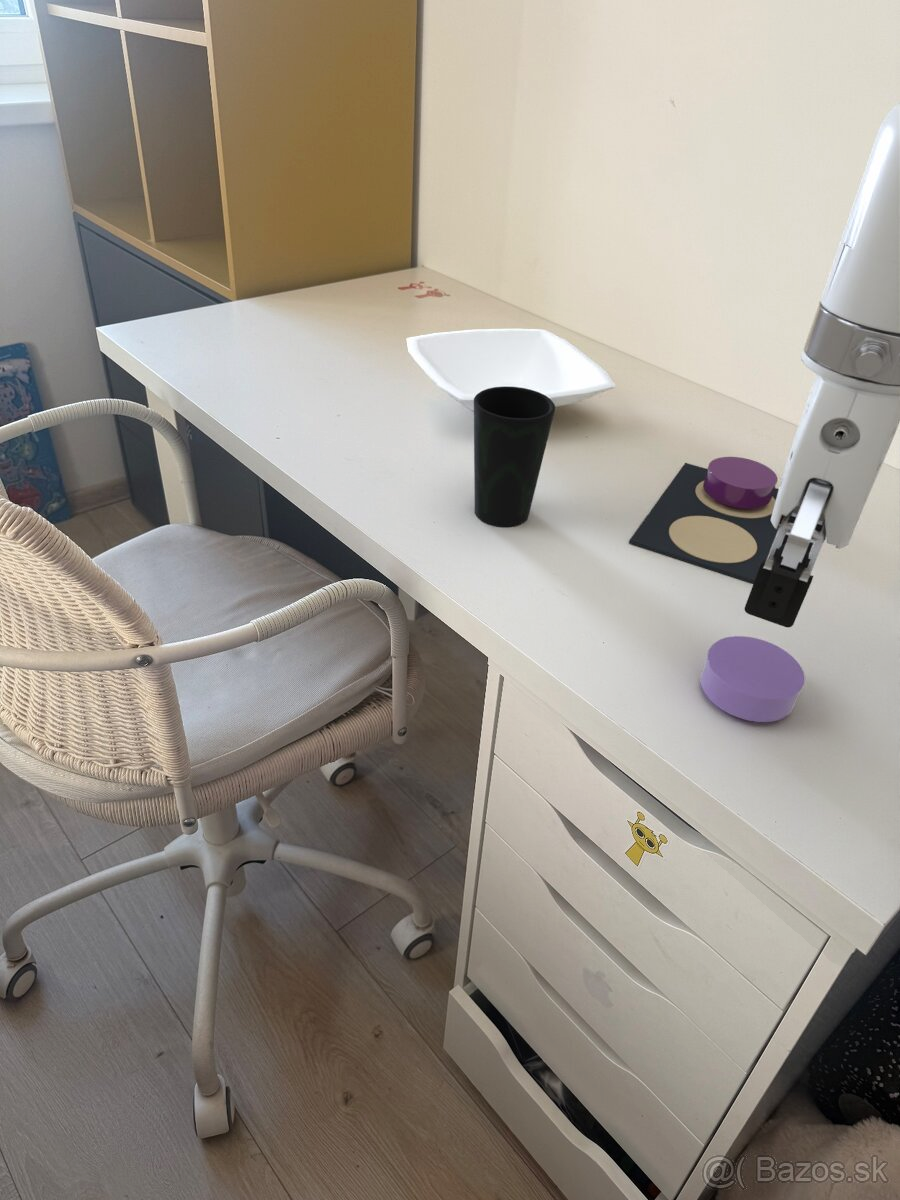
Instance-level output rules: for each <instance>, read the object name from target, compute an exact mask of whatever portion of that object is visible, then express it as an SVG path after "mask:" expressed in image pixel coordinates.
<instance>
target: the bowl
mask: <svg viewBox="0 0 900 1200" xmlns="http://www.w3.org/2000/svg"><path fill="white" fill-rule="evenodd" d="M406 343H407V351H408V353H409V355H411V357H412V358H413V359H414V361H415V362H416V364H418V365H419V367H420V368H421V369H422V371H423V372H424V373H425V374H426V375H427V376H428V377H429V378H430V380H431V381H432V382H433V383H434V384H435V385H436V386H437V387H438V388H439V389H440V390H442V391H443V392H444V393H445V394H447V395H448V396H450V397H451V398H452V399H454V401H456V402H458V403H459V404H461V405H462V406H464V407H466V408H467V409H468V410H470V411H473V412H474V398H475V396H476V395H477V394H478V393H480V392H481V391H483V390H486V389H489V388H494V387H503V386H505V387H520V388H526V389H530V390H534V391H537V392H539V393H541V394H543V395H546V396H547V397H548V398H550V399H551V400H552V402H553V403H554V404H555V408H556V407H562V406H567V405H570V404H575V403H579V402H582V401H585V400H587V399H590V398H593V397H596V396H598V395H600V394H603V393H605V392H608V391H611V390H613V389H615V388H616V384H615V382H614V380H613V379H612V378H611V376H610V375H609V373H608V371H607V370H605V369H604V368H603V367H601V366H600V365H599V364H598V363H597V362H596V361H594V360H593V359H591V358H590V357H589V356H588V355H586V354H585V353H584V352H582V351H581V350H580V349H579V348H577V347H576V346H575V345H574V344H572V343H570V342H569V341H568V340H567V339H565V338H563V337H560V336H558V335H557V334H555V333H553V332H550V331H549V330H546V329H538V328H484V329H483V328H482V329H481V328H480V329H475V328H474V329H464V330H454V331H444V332H434V333H428V334H423V335H416V336H409V337H407V338H406Z"/></svg>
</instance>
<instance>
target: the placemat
mask: <svg viewBox="0 0 900 1200" xmlns="http://www.w3.org/2000/svg"><path fill="white" fill-rule="evenodd" d="M707 469H708V468H707V467H702V466H699V465H695V464H691V463H688V462H685V463H684V464H683V465H682V467H681V468H680V469H679V471H678V472H677V473H676V475H675V477H674V478H673V479H672V480H671V481H670V483H669V484H668V486H667V487H666V489H665V490H664V492H662V494H661V496H659V498H658V500H657V501H656V503H655V504H654V505H653V506H652V508H651V510H650V511H649V512H648V513H647V515H646V517H644V519H643V520H642V522H641V523H640V525H639V526H638V528H637V529H636V530H635V532H634V533H633V534H632V536H631V537H630V539H629V540H628V544H629V545H633V546H635V547H639V548H643V549H645V550H648V551H651V552H654V553H658V554H660V555H664V556H667V557H670V558H673V559H676V560H679V561H683V562H685V563H689V564H692V565H694V566H698V567H700V568H703V569H707V570H710V571H713V572H716V573H719V574H722V575H725V576H729V577H732V578H734V579H738V580H741V581H744V582H747V583H750V584H752V585H753V584H754V581H755V578H756V575H757V573H758V570H759V567H760V565H761V562H762V560H766V559H767V557H768V554H769V552H770V549H771V547H772V544H773V542H774V539H775V536H776V534H777V531H778V528H777V529H776V528H775V527H774V526H773V524H772V522H771V517H772V513H773V509H774V505H775V501H776V498H777V494H778V491H779V488H777V487H775V490H774V493H773V496H772V499H771V501H770V503H769V504H768V505H766V506H764V507H761V508H755V509H750V510H740V509H734V508H730V507H727V506H724V505H722V504H720V503H718V502H716V501H715V500H714V499H713V498H712V497H710V496H709V495H708V494H707V493H706V492H705V490H704V488H703V483H704V479H705V476H706V472H707ZM778 527H779V526H778Z"/></svg>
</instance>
